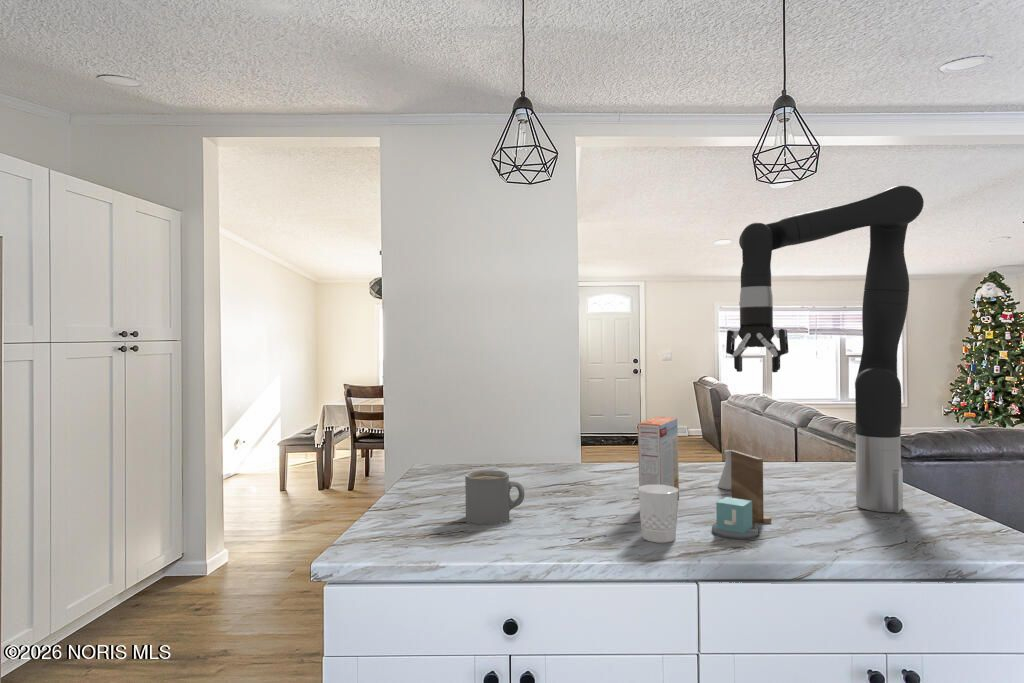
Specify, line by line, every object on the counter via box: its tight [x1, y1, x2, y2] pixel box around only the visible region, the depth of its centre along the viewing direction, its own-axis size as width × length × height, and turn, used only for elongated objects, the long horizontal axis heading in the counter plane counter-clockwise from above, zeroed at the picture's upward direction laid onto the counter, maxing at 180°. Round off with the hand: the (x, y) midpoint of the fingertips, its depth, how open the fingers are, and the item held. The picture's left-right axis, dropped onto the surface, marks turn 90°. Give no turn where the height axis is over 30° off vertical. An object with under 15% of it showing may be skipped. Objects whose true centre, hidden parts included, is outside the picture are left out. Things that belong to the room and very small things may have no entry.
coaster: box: [711, 522, 759, 540], centre depth 132 cm, size 9×9×1 cm
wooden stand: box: [730, 450, 772, 525], centre depth 144 cm, size 5×11×14 cm, turn 11°
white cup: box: [638, 485, 679, 544], centre depth 129 cm, size 8×8×10 cm
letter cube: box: [715, 496, 753, 533], centre depth 132 cm, size 6×6×6 cm
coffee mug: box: [464, 469, 525, 525], centre depth 145 cm, size 13×10×10 cm
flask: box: [717, 449, 735, 491], centre depth 172 cm, size 7×7×10 cm
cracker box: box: [637, 416, 680, 502], centre depth 154 cm, size 14×6×21 cm, turn 149°
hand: (756, 371), depth 156 cm, fingers open, 8 cm apart
